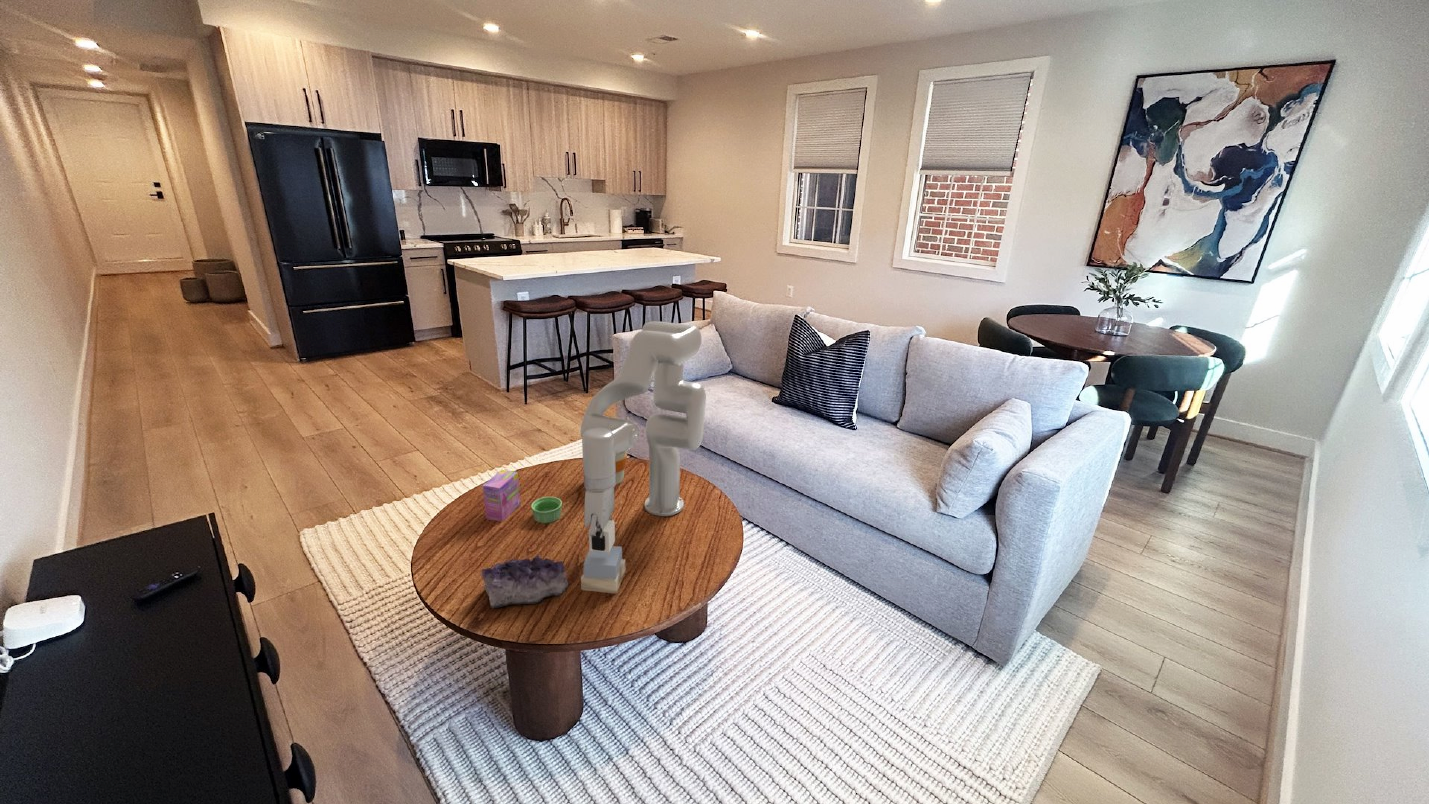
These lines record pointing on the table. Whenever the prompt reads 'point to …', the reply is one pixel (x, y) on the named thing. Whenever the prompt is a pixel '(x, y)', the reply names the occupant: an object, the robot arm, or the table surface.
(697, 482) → the table surface
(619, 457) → the reusable coffee cup
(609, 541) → the white block
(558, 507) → the ramekin
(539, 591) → the geode
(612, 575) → the tower top
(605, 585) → the tower base
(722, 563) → the table surface
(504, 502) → the box
